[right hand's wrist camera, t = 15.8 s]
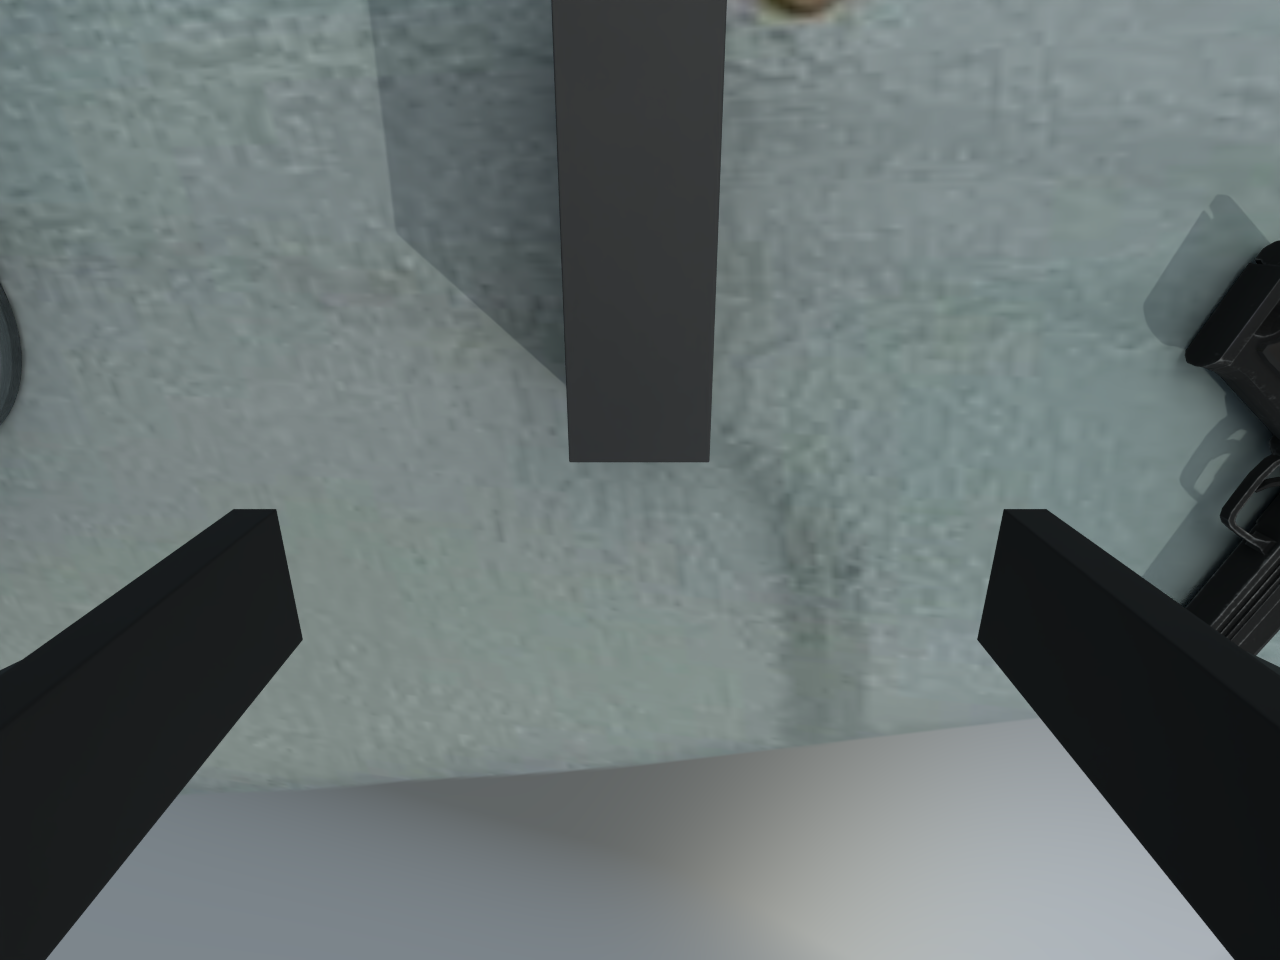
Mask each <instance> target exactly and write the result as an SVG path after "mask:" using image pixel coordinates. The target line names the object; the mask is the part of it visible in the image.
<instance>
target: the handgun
mask: <svg viewBox="0 0 1280 960" xmlns="http://www.w3.org/2000/svg"><path fill="white" fill-rule="evenodd" d="M1255 261H1256V263H1257V264H1253V263H1249V264H1248V265H1247V267H1246V268H1245V270H1244V271H1243V272H1242V274H1241V275H1240V276H1239V278H1238V279H1237V281H1236V282H1235V283H1234V285H1233V286H1232V288H1231V289H1230V290H1229V292H1228V293H1227V294H1226V296H1225V297H1224V299H1223V300H1222V301H1221V303H1220V304H1219V306H1218V307H1217V308H1216V310H1215V311H1214V312H1213V314H1212V315H1211V317H1210V318H1209V319H1208V321H1207V322H1206V323H1205V325H1204V326H1203V328H1202V329H1201V330H1200V332H1199V333H1198V335H1197V336H1196V337H1195V339H1194V340H1193V341H1192V343H1191V344H1190V346H1189V347H1188V348H1187V350H1186V352H1185V357H1186V361H1187V363H1189V364H1192V365H1194V366H1199V367H1204V368H1207V369H1209V370H1212V371H1214V372H1215V373H1217V374H1218V375H1220V376H1221V377H1222V378H1223V380H1224V381H1225V382H1226V383H1227V384H1228V385H1229V386H1230V387H1231V388H1232V389H1233V390H1234V392H1235V393H1236V394H1237V395H1238V396H1239V397H1240V398H1241V399H1242V400H1243V401H1244V403H1245V404H1246V405H1247V406H1248V407H1249V408H1250V409H1251V410H1252V411H1253V412H1254V413H1255V415H1256V416H1257V417H1258V418H1259V419H1260V420H1261V421H1262V422H1263V423H1264V424H1265V425H1266V427H1267V428H1268V429H1269V430H1270V431H1271V432H1272V433H1273V436H1272V437H1271V439H1270V440H1269V445H1270V449H1271V452H1272V453H1273V454H1272V455H1270V456H1268V457H1266V458H1264V459H1263V460H1262V461H1261V462H1260V463H1259V464H1258V465H1257V466H1256V467H1255V468H1254V469H1253V470H1252V471H1251V472H1250V473H1249V474H1248V475H1247V477H1246V478H1245V479H1244V480H1243V482H1242V483H1241V484H1240V485H1239V487H1238V488H1237V489H1236V491H1235V492H1234V493H1233V494H1232V496H1231V497H1230V498H1229V500H1228V501H1227V502H1226V504H1225V505H1224V507H1223V508H1222V511H1221V514H1220V518H1221V522H1222V523H1223V524H1224V525H1226V526H1227V527H1228V528H1229V529H1230V530H1232V531H1233V532H1234V533H1236V534H1237V535H1238V536H1240V537H1241V538H1243V540H1242V541H1241V542H1240V544H1239V545H1238V546H1237V547H1236V548H1235V550H1234V551H1233V552H1232V553H1231V554H1230V555H1229V557H1228V558H1227V559H1226V560H1225V561H1224V563H1223V564H1222V565H1221V566H1220V567H1219V569H1218V570H1217V571H1216V572H1215V573H1214V575H1213V576H1212V577H1211V578H1210V579H1209V580H1208V582H1207V583H1206V584H1205V585H1204V586H1203V588H1202V589H1201V590H1200V591H1199V592H1198V594H1197V595H1196V596H1195V597H1194V598H1193V600H1192V601H1191V602H1190V603H1189V604H1188V605H1187V607H1186V609H1187V610H1188V611H1190V612H1191V613H1193V614H1194V615H1196V616H1197V617H1198V618H1200V619H1201V620H1203V621H1204V622H1205V623H1207V624H1208V625H1210V626H1211V627H1212V628H1214V629H1215V630H1217V631H1218V632H1219V633H1221V634H1222V635H1224V636H1225V637H1226V638H1228V639H1229V640H1231V641H1232V642H1233V643H1235V644H1236V645H1238V646H1239V647H1240V648H1242V649H1243V650H1245V651H1246V652H1249V653H1251V654H1253V655H1255V656H1256V655H1257V654H1258V653H1259V652H1260V651H1261V650H1262V648H1263V647H1264V646H1265V645H1266V644H1267V643H1268V642H1269V641H1270V640H1271V639H1272V637H1273V636H1274V635H1275V634H1276V633H1277V632H1278V631H1279V630H1280V493H1279V494H1278V496H1277V497H1276V498H1275V499H1274V500H1273V501H1272V503H1271V504H1270V505H1269V506H1268V507H1267V509H1266V510H1265V511H1264V512H1263V513H1262V515H1261V516H1260V517H1259V518H1258V519H1257V521H1256V525H1255V526H1254V527H1253V528H1252V529H1251V530H1250V532H1249V533H1247V532H1246V531H1244V530H1243V529H1242V528H1240V527H1239V526H1238V525H1237V524H1236V522H1235V519H1236V516H1237V514H1238V513H1239V511H1240V510H1241V509H1242V507H1243V506H1244V505H1245V503H1246V502H1247V501H1248V499H1249V498H1250V497H1251V496H1252V494H1253V493H1254V492H1256V493H1257V492H1259V491H1261V490H1263V489H1266V488H1268V487H1276V486H1280V477H1275V478H1270V479H1265V478H1266V477H1268V476H1269V475H1270V474H1271V473H1272V472H1273V471H1274V470H1275V469H1276V468H1277V467H1278V466H1280V241H1276V242H1273V243H1272V244H1270V245H1268V246H1266V247H1265V248H1263V249H1262V250H1261V252H1260V253H1259V254H1258V256H1257V257H1256V259H1255ZM1264 479H1265V480H1264Z"/></svg>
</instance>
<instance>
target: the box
mask: <svg viewBox="0 0 1280 960" xmlns="http://www.w3.org/2000/svg"><path fill="white" fill-rule="evenodd" d="M551 2H552V27H553V53H554V79H555V105H556V131H557V156H558V182H559V208H560V234H561V259H562V285H563V311H564V337H565V362H566V388H567V414H568V440H569V461H570V462H709V456H710V430H711V403H712V377H713V351H714V324H715V298H716V271H717V245H718V218H719V192H720V165H721V139H722V112H723V86H724V59H725V33H726V6H727V0H551Z"/></svg>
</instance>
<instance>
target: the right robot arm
mask: <svg viewBox="0 0 1280 960" xmlns="http://www.w3.org/2000/svg"><path fill="white" fill-rule="evenodd" d="M21 369H22V357H21V345H20V338H19V333H18V329H17V325H16V321H15V318H14V315H13V312H12V309H11V307H10V304H9V302H8V299H7V297H6V295H5V293H4V291H3V289H2V287H1V285H0V425H1V424H2V423H3V421H4V420H5V418H6V417H7V415H8V414H9V412H10V410H11V408H12V406H13V404H14V402H15V399H16V396H17V393H18V389H19V384H20V379H21ZM302 640H303V638H302V634H301V629H300V624H299V619H298V614H297V609H296V604H295V599H294V594H293V589H292V585H291V580H290V575H289V570H288V565H287V560H286V555H285V550H284V545H283V540H282V535H281V531H280V526H279V521H278V516H277V511H276V509H233V510H232V511H231V512H229V513H228V514H226V515H225V516H223V517H222V518H221V519H219V520H218V521H216V522H215V523H214V524H212V525H211V526H209V527H208V528H207V529H205V530H204V531H202V532H201V533H200V534H198V535H197V536H195V537H194V538H193V539H191V540H190V541H188V542H187V543H186V544H184V545H183V546H181V547H180V548H179V549H177V550H176V551H174V552H173V553H172V554H170V555H169V556H167V557H166V558H165V559H163V560H162V561H160V562H159V563H157V564H156V565H155V566H153V567H152V568H150V569H149V570H148V571H146V572H145V573H143V574H142V575H141V576H139V577H138V578H136V579H135V580H134V581H132V582H131V583H129V584H128V585H127V586H125V587H124V588H122V589H121V590H120V591H118V592H117V593H115V594H114V595H113V596H111V597H110V598H108V599H107V600H106V601H104V602H103V603H101V604H100V605H99V606H97V607H96V608H94V609H93V610H92V611H90V612H89V613H87V614H86V615H84V616H83V617H82V618H80V619H79V620H77V621H76V622H75V623H73V624H72V625H70V626H69V627H68V628H66V629H65V630H63V631H62V632H61V633H59V634H58V635H56V636H55V637H54V638H52V639H51V640H49V641H48V642H47V643H45V644H44V645H42V646H41V647H40V648H38V649H37V650H35V651H34V652H33V653H31V654H30V655H28V656H27V657H26V658H24V659H23V660H21V661H19V662H17V663H15V664H12V665H10V666H8V667H6V668H4V669H2V670H0V960H46V958H47V957H48V956H49V955H50V953H51V952H52V951H53V950H54V949H55V947H56V946H57V945H58V944H59V942H60V941H61V940H62V939H63V937H64V936H65V935H66V934H67V932H68V931H69V930H70V929H71V927H72V926H73V925H74V924H75V922H76V921H77V920H78V919H79V917H80V916H81V915H82V914H83V912H84V911H85V910H86V909H87V907H88V906H89V905H90V904H91V902H92V901H93V900H94V899H95V897H96V896H97V895H98V894H99V892H100V891H101V890H102V889H103V888H104V886H105V885H106V884H107V883H108V881H109V880H110V879H111V878H112V876H113V875H114V874H115V873H116V871H117V870H118V869H119V868H120V866H121V865H122V864H123V863H124V861H125V860H126V859H127V858H128V856H129V855H130V854H131V853H132V851H133V850H134V849H135V848H136V846H137V845H138V844H139V843H140V842H141V840H142V839H143V838H144V837H145V835H146V834H147V833H148V832H149V830H150V829H151V828H152V827H153V825H154V824H155V823H156V822H157V820H158V819H159V818H160V817H161V815H162V814H163V813H164V812H165V810H166V809H167V808H168V807H169V805H170V804H171V803H172V802H173V800H174V799H175V798H176V797H177V795H178V794H179V793H180V792H181V790H182V789H183V788H184V787H185V786H186V784H187V783H188V782H189V781H190V779H191V778H192V777H193V776H194V774H195V773H196V772H197V771H198V769H199V768H200V767H201V766H202V764H203V763H204V762H205V761H206V759H207V758H208V757H209V756H210V754H211V753H212V752H213V751H214V749H215V748H216V747H217V746H218V744H219V743H220V742H221V741H222V739H223V738H224V737H225V736H226V734H227V733H228V732H229V731H230V730H231V728H232V727H233V726H234V725H235V723H236V722H237V721H238V720H239V718H240V717H241V716H242V715H243V713H244V712H245V711H246V710H247V708H248V707H249V706H250V705H251V703H252V702H253V701H254V700H255V698H256V697H257V696H258V695H259V693H260V692H261V691H262V690H263V688H264V687H265V686H266V685H267V683H268V682H269V681H270V680H271V678H272V677H273V676H274V675H275V673H276V672H277V671H278V670H279V669H280V667H281V666H282V665H283V664H284V662H285V661H286V660H287V659H288V657H289V656H290V655H291V654H292V652H293V651H294V650H295V649H296V647H297V646H298V645H299V644H300V642H301V641H302ZM977 640H978V641H979V642H980V644H981V645H982V646H983V647H984V649H985V650H986V651H987V652H988V654H989V655H990V656H991V657H992V659H993V660H994V661H995V662H996V664H997V665H998V666H999V667H1000V669H1001V670H1002V671H1003V672H1004V673H1005V675H1006V676H1007V677H1008V678H1009V680H1010V681H1011V682H1012V683H1013V685H1014V686H1015V687H1016V688H1017V690H1018V691H1019V692H1020V693H1021V695H1022V696H1023V697H1024V698H1025V700H1026V701H1027V702H1028V703H1029V705H1030V706H1031V707H1032V708H1033V710H1034V711H1035V712H1036V713H1037V715H1038V716H1039V717H1040V718H1041V720H1042V721H1043V722H1044V723H1045V724H1046V726H1047V727H1048V728H1049V730H1050V731H1051V732H1052V733H1053V734H1054V736H1055V737H1056V738H1057V739H1058V741H1059V742H1060V743H1061V744H1062V746H1063V747H1064V748H1065V749H1066V751H1067V752H1068V753H1069V754H1070V756H1071V757H1072V758H1073V759H1074V761H1075V762H1076V763H1077V764H1078V765H1079V767H1080V768H1081V769H1082V771H1083V772H1084V773H1085V774H1086V775H1087V777H1088V778H1089V779H1090V781H1091V782H1092V783H1093V784H1094V785H1095V787H1096V788H1097V789H1098V790H1099V792H1100V793H1101V794H1102V795H1103V797H1104V798H1105V799H1106V800H1107V802H1108V803H1109V804H1110V805H1111V807H1112V808H1113V809H1114V810H1115V812H1116V813H1117V814H1118V815H1119V817H1120V818H1121V819H1122V820H1123V822H1124V823H1125V824H1126V825H1127V826H1128V828H1129V829H1130V830H1131V832H1132V833H1133V834H1134V835H1135V836H1136V838H1137V839H1138V840H1139V842H1140V843H1141V844H1142V845H1143V846H1144V848H1145V849H1146V850H1147V851H1148V853H1149V854H1150V855H1151V856H1152V858H1153V859H1154V860H1155V861H1156V863H1157V864H1158V865H1159V866H1160V868H1161V869H1162V870H1163V871H1164V873H1165V874H1166V875H1167V876H1168V878H1169V879H1170V880H1171V881H1172V883H1173V884H1174V885H1175V886H1176V888H1177V889H1178V890H1179V891H1180V893H1181V894H1182V895H1183V896H1184V898H1185V899H1186V900H1187V901H1188V902H1189V904H1190V905H1191V906H1192V907H1193V909H1194V910H1195V911H1196V912H1197V914H1198V915H1199V916H1200V917H1201V919H1202V920H1203V921H1204V922H1205V924H1206V925H1207V926H1208V927H1209V929H1210V930H1211V931H1212V932H1213V934H1214V935H1215V936H1216V937H1217V939H1218V940H1219V941H1220V942H1221V944H1222V945H1223V946H1224V947H1225V948H1226V950H1227V951H1228V952H1229V954H1230V955H1231V956H1232V957H1233V958H1234V960H1280V667H1278V666H1276V665H1274V664H1272V663H1270V662H1268V661H1266V660H1263V659H1261V658H1259V657H1257V656H1255V655H1253V654H1251V653H1249V652H1246V651H1245V650H1243V649H1242V648H1240V647H1239V646H1238V645H1236V644H1235V643H1233V642H1232V641H1231V640H1229V639H1228V638H1226V637H1225V636H1224V635H1222V634H1221V633H1219V632H1218V631H1217V630H1215V629H1214V628H1212V627H1211V626H1210V625H1208V624H1207V623H1205V622H1204V621H1203V620H1201V619H1200V618H1198V617H1197V616H1196V615H1194V614H1193V613H1191V612H1190V611H1188V610H1187V609H1186V608H1184V607H1183V606H1181V605H1180V604H1179V603H1177V602H1176V601H1174V600H1173V599H1172V598H1170V597H1169V596H1167V595H1166V594H1165V593H1163V592H1162V591H1160V590H1159V589H1158V588H1156V587H1155V586H1153V585H1152V584H1151V583H1149V582H1148V581H1146V580H1145V579H1144V578H1142V577H1141V576H1139V575H1138V574H1137V573H1135V572H1134V571H1132V570H1131V569H1130V568H1128V567H1127V566H1125V565H1124V564H1123V563H1121V562H1120V561H1118V560H1117V559H1115V558H1114V557H1113V556H1111V555H1110V554H1108V553H1107V552H1106V551H1104V550H1103V549H1101V548H1100V547H1099V546H1097V545H1096V544H1094V543H1093V542H1092V541H1090V540H1089V539H1087V538H1086V537H1085V536H1083V535H1082V534H1080V533H1079V532H1078V531H1076V530H1075V529H1073V528H1072V527H1071V526H1069V525H1068V524H1066V523H1065V522H1064V521H1062V520H1061V519H1059V518H1058V517H1057V516H1055V515H1054V514H1052V513H1051V512H1049V511H1048V510H1047V509H1004V511H1003V516H1002V521H1001V526H1000V531H999V535H998V540H997V545H996V550H995V555H994V560H993V565H992V570H991V575H990V580H989V585H988V589H987V594H986V599H985V604H984V609H983V614H982V619H981V624H980V629H979V634H978V638H977Z"/></svg>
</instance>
